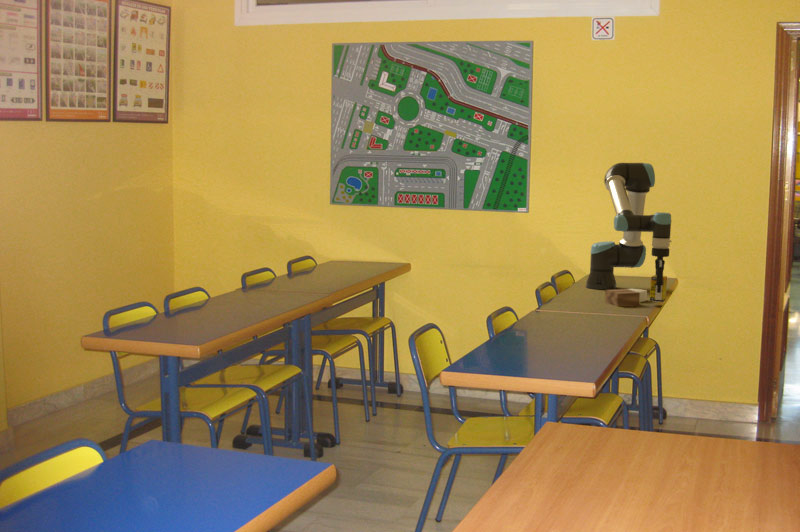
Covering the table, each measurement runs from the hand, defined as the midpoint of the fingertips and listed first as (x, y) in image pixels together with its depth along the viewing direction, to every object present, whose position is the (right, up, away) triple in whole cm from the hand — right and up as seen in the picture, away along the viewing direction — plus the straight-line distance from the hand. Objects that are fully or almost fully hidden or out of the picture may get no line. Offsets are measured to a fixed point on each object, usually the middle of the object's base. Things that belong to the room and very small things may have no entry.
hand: (657, 298), depth 388 cm
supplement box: (0, -1, 0) cm, 1 cm away
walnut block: (-15, -3, +4) cm, 16 cm away
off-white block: (-6, -2, +15) cm, 16 cm away
